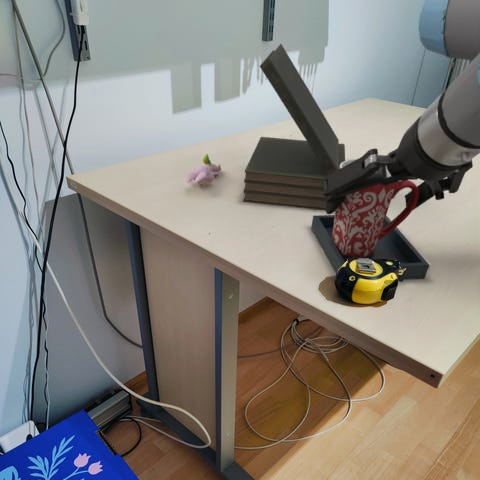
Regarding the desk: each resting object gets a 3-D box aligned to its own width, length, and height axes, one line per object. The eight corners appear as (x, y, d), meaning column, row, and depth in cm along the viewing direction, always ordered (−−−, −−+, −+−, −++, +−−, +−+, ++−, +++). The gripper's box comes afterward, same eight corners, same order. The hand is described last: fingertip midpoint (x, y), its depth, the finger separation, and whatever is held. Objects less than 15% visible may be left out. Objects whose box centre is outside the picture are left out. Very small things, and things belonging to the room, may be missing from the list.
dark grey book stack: (340, 212, 83) (369, 66, 67) (242, 201, 86) (248, 58, 70) (340, 171, 101) (363, 47, 85) (259, 163, 103) (266, 41, 87)
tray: (381, 226, 79) (384, 213, 78) (424, 279, 66) (429, 264, 64) (311, 228, 78) (313, 215, 76) (340, 283, 64) (343, 268, 62)
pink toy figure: (202, 175, 99) (176, 189, 86) (202, 148, 96) (177, 158, 83) (227, 179, 98) (205, 193, 85) (229, 152, 95) (206, 162, 82)
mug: (326, 259, 68) (342, 176, 60) (324, 232, 75) (337, 155, 67) (405, 266, 67) (433, 184, 59) (396, 238, 74) (419, 161, 66)
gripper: (343, 170, 46) (295, 229, 67) (550, 167, 49) (442, 224, 70) (337, 105, 47) (292, 184, 68) (541, 105, 49) (437, 181, 71)
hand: (368, 204), depth 69 cm, fingers open, 13 cm apart
